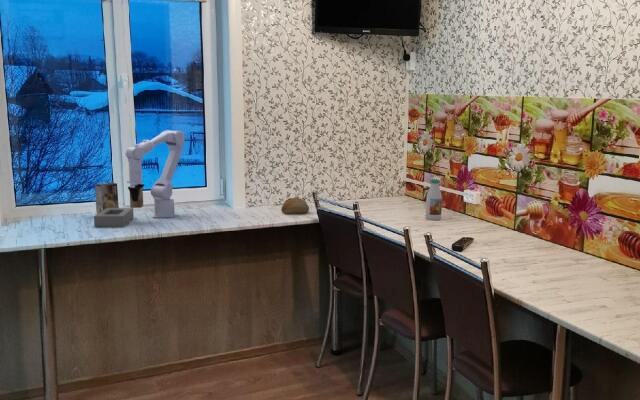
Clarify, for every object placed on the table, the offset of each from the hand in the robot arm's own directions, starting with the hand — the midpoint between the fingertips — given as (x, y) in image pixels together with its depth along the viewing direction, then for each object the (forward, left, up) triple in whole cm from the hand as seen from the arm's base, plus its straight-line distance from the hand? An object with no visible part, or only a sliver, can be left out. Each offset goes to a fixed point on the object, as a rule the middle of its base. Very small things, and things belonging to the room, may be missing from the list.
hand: (136, 200), depth 278 cm
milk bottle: (-145, -1, -11) cm, 146 cm away
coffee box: (+19, -16, -11) cm, 27 cm away
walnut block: (0, 0, -3) cm, 3 cm away
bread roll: (-76, -18, -11) cm, 79 cm away
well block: (+11, +1, -10) cm, 15 cm away
